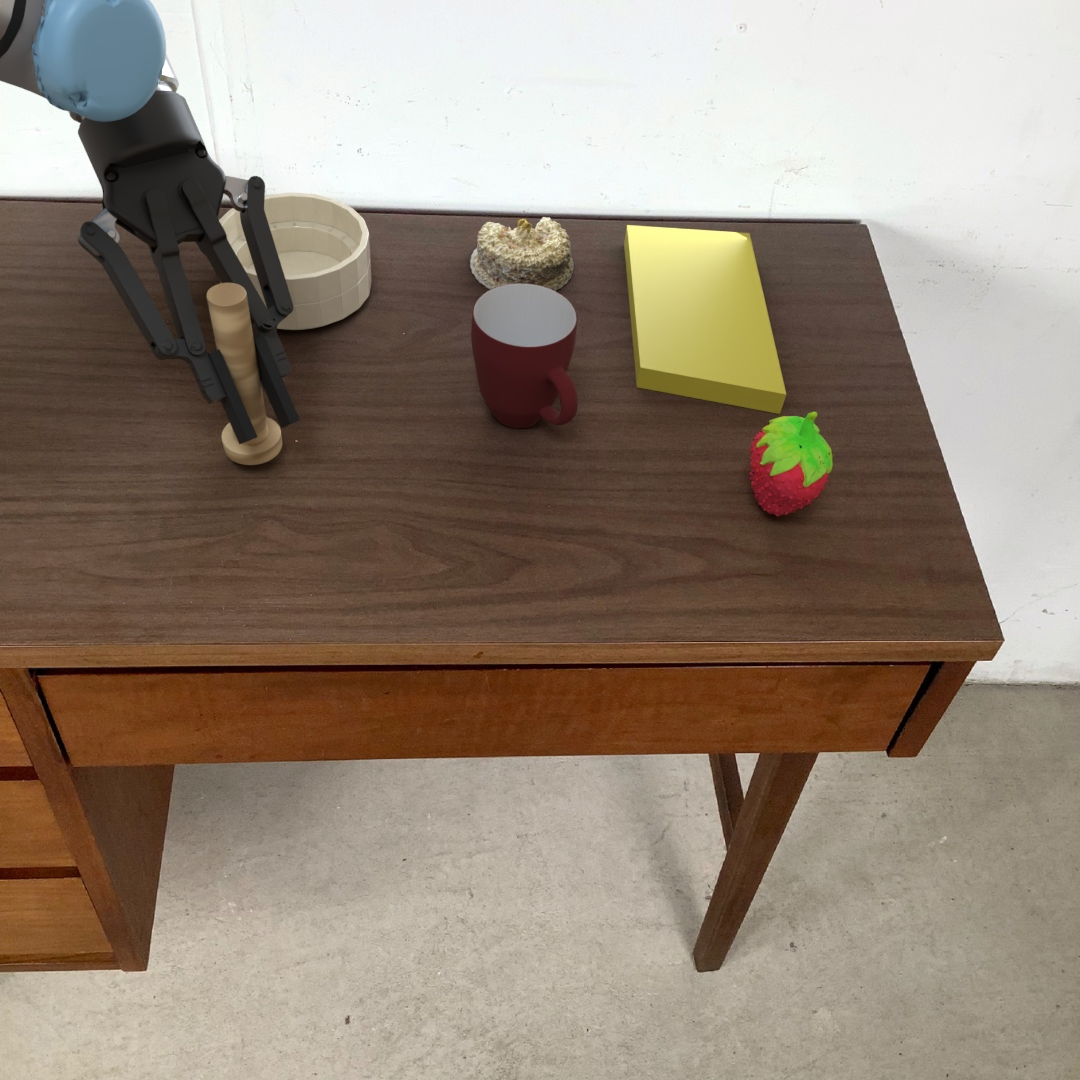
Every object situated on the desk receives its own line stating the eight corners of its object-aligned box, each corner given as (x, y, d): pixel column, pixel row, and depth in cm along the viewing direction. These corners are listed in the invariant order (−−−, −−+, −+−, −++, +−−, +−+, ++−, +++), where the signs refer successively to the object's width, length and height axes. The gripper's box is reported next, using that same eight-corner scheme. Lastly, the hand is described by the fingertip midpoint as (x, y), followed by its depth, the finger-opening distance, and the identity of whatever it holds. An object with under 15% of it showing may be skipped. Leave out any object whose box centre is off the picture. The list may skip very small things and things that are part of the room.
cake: (589, 292, 101) (596, 246, 97) (489, 312, 98) (493, 265, 94) (550, 228, 106) (556, 181, 102) (455, 244, 103) (456, 197, 99)
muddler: (239, 473, 80) (209, 321, 69) (214, 438, 82) (181, 286, 71) (292, 451, 82) (271, 301, 71) (266, 418, 84) (242, 267, 73)
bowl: (263, 354, 91) (254, 296, 86) (198, 275, 97) (187, 217, 93) (398, 307, 96) (396, 250, 92) (327, 235, 103) (322, 178, 99)
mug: (607, 431, 88) (624, 334, 80) (539, 477, 83) (549, 379, 76) (517, 368, 92) (525, 270, 85) (448, 409, 88) (449, 309, 80)
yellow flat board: (624, 244, 106) (638, 405, 90) (627, 225, 104) (642, 386, 88) (744, 252, 106) (779, 414, 91) (749, 233, 105) (786, 394, 89)
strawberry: (806, 474, 86) (842, 379, 78) (816, 543, 81) (855, 448, 74) (735, 467, 86) (764, 371, 78) (740, 536, 81) (772, 440, 73)
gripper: (225, 104, 79) (350, 401, 83) (9, 156, 72) (157, 477, 76) (248, 62, 72) (382, 388, 76) (12, 115, 66) (173, 469, 70)
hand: (269, 431), depth 76 cm, fingers closed on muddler, 3 cm apart
